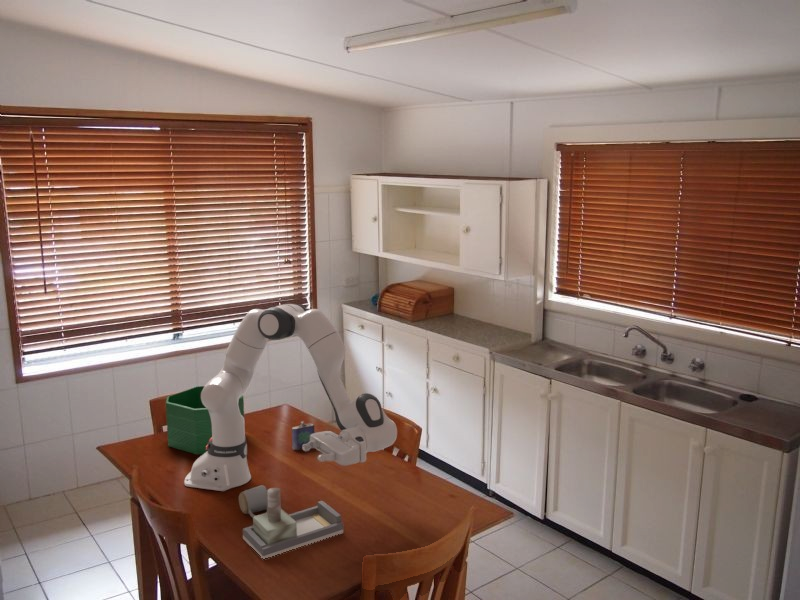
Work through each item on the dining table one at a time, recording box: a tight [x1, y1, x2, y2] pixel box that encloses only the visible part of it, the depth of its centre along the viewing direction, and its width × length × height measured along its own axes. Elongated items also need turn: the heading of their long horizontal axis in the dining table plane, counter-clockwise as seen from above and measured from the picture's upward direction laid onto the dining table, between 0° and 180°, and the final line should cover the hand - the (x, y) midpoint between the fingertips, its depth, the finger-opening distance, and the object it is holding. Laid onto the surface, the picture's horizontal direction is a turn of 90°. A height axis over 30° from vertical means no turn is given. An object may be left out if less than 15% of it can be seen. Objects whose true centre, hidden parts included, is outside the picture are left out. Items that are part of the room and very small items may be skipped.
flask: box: [291, 420, 315, 451], centre depth 272 cm, size 9×3×11 cm, turn 121°
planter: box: [165, 385, 245, 455], centre depth 278 cm, size 26×26×18 cm
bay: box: [242, 500, 344, 560], centre depth 207 cm, size 26×14×5 cm, turn 126°
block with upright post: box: [252, 487, 297, 546], centre depth 203 cm, size 9×10×15 cm
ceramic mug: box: [238, 484, 268, 519], centre depth 221 cm, size 11×8×8 cm
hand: (310, 453), depth 207 cm, fingers open, 8 cm apart
